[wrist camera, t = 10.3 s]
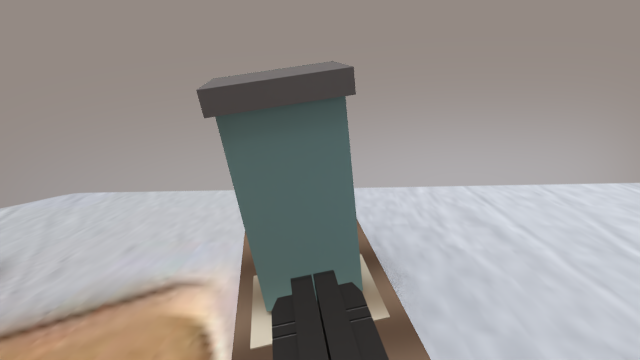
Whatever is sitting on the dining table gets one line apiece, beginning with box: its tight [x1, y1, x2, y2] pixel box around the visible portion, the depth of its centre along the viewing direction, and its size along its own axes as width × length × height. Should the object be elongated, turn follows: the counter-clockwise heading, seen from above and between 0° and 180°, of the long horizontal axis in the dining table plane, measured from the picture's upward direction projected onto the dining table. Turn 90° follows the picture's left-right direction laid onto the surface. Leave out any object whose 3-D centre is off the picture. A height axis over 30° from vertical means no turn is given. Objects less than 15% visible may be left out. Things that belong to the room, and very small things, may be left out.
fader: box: [197, 61, 363, 311], centre depth 19 cm, size 5×7×13 cm
